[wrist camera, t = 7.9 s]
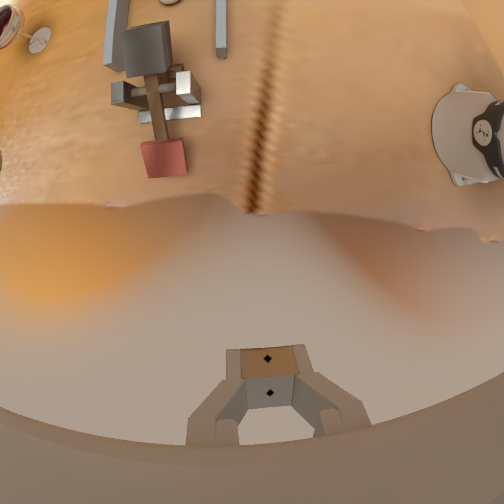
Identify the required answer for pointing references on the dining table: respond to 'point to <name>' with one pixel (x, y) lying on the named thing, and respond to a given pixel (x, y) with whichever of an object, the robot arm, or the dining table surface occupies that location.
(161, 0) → the ball
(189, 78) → the stand
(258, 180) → the dining table surface
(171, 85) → the lever
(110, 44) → the grey u-shaped bracket
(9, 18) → the wineglass
